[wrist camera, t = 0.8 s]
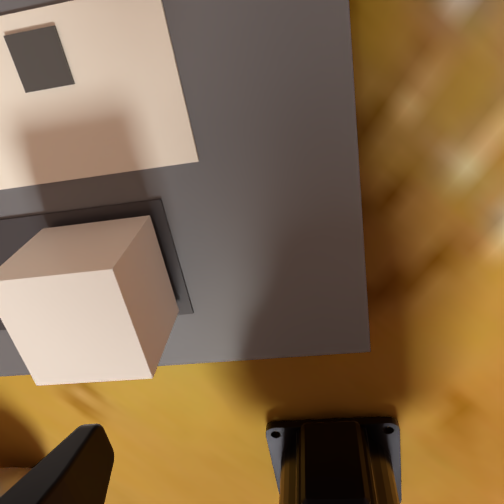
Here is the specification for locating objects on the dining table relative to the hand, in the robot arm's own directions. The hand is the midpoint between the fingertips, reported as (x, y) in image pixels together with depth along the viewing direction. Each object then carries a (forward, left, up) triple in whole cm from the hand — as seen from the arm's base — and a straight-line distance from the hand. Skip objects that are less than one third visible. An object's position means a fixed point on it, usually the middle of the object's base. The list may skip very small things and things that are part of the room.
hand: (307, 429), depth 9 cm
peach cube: (0, +7, -7) cm, 10 cm away
